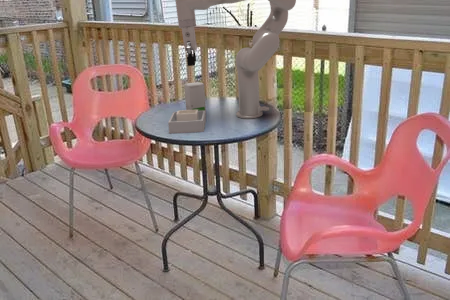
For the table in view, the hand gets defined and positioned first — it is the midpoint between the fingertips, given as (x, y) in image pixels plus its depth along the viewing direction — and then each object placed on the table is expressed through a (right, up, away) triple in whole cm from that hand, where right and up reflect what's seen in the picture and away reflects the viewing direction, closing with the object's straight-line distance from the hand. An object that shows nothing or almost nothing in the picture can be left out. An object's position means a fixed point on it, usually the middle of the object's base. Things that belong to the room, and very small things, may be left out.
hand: (192, 63), depth 190 cm
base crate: (-2, -28, +3) cm, 28 cm away
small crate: (-2, -27, +3) cm, 27 cm away
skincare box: (+1, -21, +21) cm, 30 cm away
